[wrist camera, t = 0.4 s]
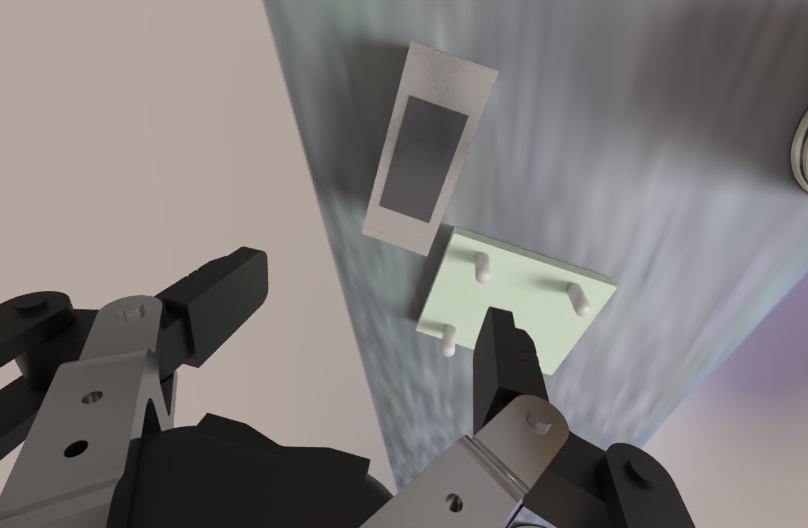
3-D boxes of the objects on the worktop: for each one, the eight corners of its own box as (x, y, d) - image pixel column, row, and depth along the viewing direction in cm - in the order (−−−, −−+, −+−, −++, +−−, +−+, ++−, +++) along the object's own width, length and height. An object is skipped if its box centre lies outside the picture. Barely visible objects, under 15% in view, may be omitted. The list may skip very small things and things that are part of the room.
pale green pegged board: (417, 320, 34) (411, 351, 30) (454, 226, 29) (452, 249, 25) (548, 364, 34) (558, 400, 30) (610, 277, 29) (633, 308, 25)
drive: (423, 49, 23) (410, 40, 18) (492, 73, 23) (499, 71, 18) (380, 205, 29) (360, 234, 24) (434, 225, 29) (426, 257, 24)
